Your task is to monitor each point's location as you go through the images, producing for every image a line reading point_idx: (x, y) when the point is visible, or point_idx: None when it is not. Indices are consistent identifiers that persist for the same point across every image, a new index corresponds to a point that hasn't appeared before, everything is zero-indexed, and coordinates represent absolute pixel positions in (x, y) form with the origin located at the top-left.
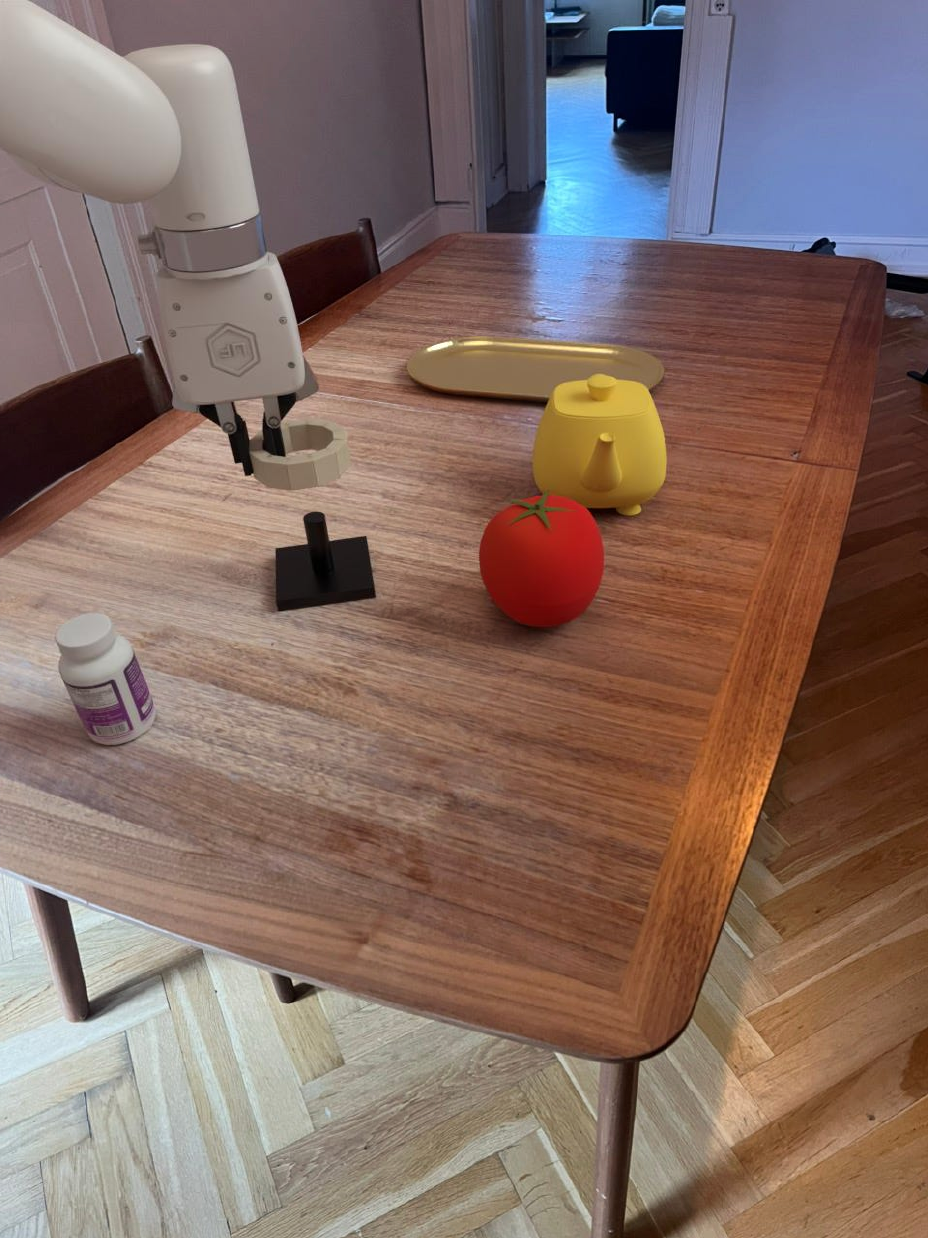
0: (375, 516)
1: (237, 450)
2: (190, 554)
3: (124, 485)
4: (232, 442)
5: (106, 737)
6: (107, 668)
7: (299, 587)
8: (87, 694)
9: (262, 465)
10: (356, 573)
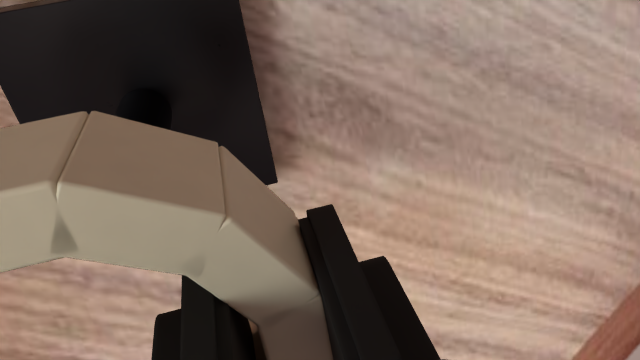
0: (96, 308)
1: (378, 299)
2: (447, 181)
3: (560, 350)
4: (409, 329)
5: None
6: None
7: (183, 28)
8: None
9: (227, 201)
10: (44, 83)
